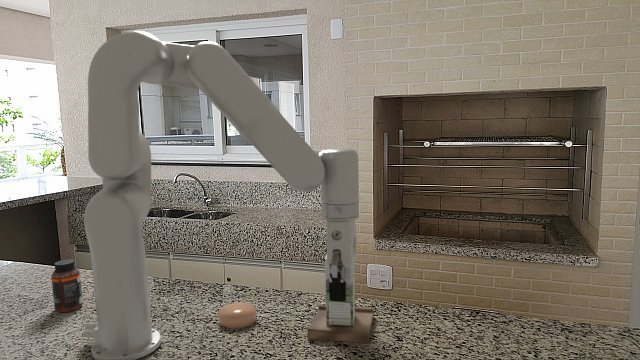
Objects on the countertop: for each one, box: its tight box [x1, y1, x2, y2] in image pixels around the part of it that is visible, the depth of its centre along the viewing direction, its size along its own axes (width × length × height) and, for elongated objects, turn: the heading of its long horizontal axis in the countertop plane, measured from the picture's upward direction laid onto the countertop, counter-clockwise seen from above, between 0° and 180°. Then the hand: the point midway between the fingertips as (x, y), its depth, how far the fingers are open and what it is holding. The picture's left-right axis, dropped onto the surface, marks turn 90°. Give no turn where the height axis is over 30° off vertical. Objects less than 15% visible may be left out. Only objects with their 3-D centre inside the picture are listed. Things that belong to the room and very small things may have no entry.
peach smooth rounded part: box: [218, 302, 257, 329], centre depth 105 cm, size 8×8×2 cm
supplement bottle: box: [50, 259, 84, 313], centre depth 113 cm, size 6×6×11 cm
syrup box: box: [324, 252, 356, 326], centre depth 99 cm, size 6×6×14 cm
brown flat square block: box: [307, 304, 375, 344], centre depth 100 cm, size 12×12×2 cm
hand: (341, 291), depth 99 cm, fingers open, 9 cm apart
